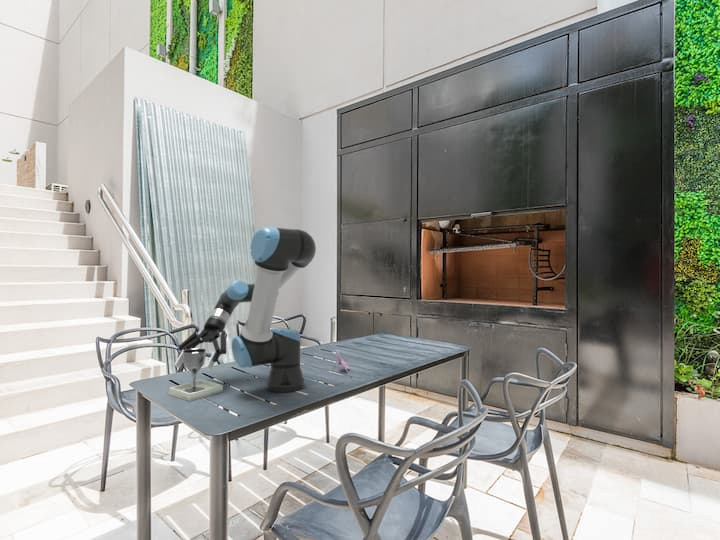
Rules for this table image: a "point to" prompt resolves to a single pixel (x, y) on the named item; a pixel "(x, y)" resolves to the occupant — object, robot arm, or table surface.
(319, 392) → the table surface
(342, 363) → the lily
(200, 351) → the wine glass
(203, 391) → the white tray
